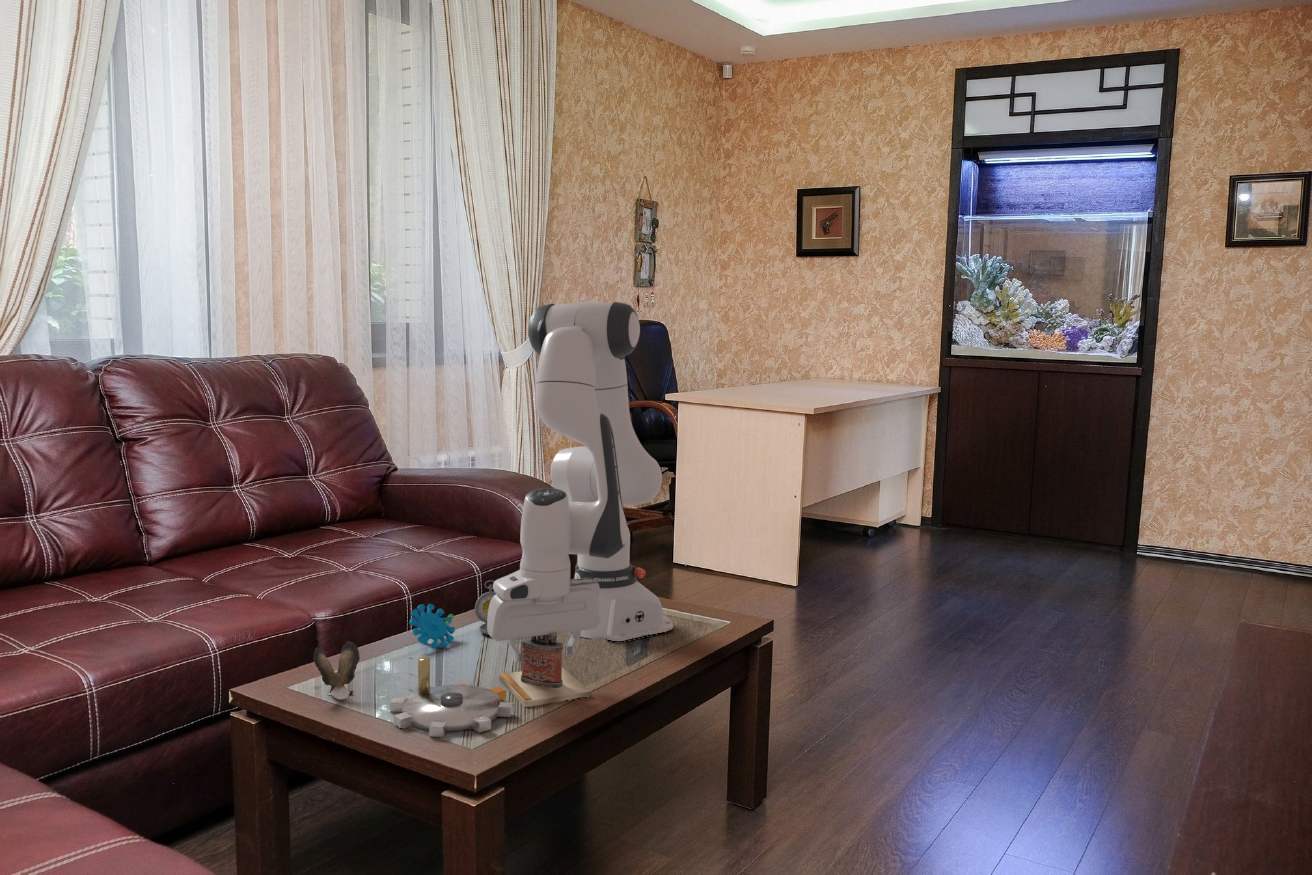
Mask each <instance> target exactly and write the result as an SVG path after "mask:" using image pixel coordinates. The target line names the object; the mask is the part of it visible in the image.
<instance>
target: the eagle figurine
mask: <svg viewBox="0 0 1312 875" xmlns="http://www.w3.org/2000/svg"><path fill="white" fill-rule="evenodd" d="M313 653H314V654H313V661H314V665H315V667H316V668H317V670H318V671H319V673H320V675H321V680H322V682H323V683H324V685H326V686H330V690H329V692H328V694H329V693H331V695H332V696H331V697H333V698H335V699H336V700H340V701H342V700H346V699H347V698H348V697H349V696H350V695H349V694H352V695H353V694H354V691H353V690H354V689H352V690H349V689H348V688H347V687H345V685H349V684H350V683H351V682H352V681H353V680H354V678H355V677H356V676H355V671H356V669H357V665H358V663H359V662H360V657H361V656H360V651H359V648H358V646H357V645H356V644H355V643H354V642H351V641H347V642H345V643H344V645H342V648H341V652H340V656H339V659H338V668H337V671H336V672H335V670H334V669H333V666H332V664H331V662H330V660H329V659H328V658H327V657H326V655H325V653H324V650H323V649H321V648H319V647H315V650H314V652H313Z"/></svg>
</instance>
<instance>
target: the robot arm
mask: <svg viewBox="0 0 1312 875" xmlns="http://www.w3.org/2000/svg"><path fill="white" fill-rule="evenodd" d="M640 326H641V325H640V319H639V316H638V313H637V311H636V310H635V309H634V307H632V305H630V304H627V303H625V302H619V301H614V302H605V301H604V302H603V301H590V300H589V301H587V300H585V301H581V302H569V303H560V304H555V303H549V304H544V305H541V306H539V307H537V308H536V309H535V310H534V311H533V312H532V313H531V315H530V317H529V323H528V339H529V343H530V346H531V347H532V349H533V350H534V352H535V353H536V354H537V355H538V356H539V358H538V364H537V372H536V381H535V394H534V396H535V397H534V398H535V401H534V402H535V411H536V413H537V416H538V418H539V419H540V421H541V422H542V423H543V424H544V425H545V426H546V427H548V428H549V429H550V430H551V431H554V432H556V433H557V434H559V435H561V436H563V437H565V438H568V439H570V440H573V441H575V442H577V443H579V444H581V445H583V446H581V445H580V446H574V447H566V448H562V449H561V450H559V451H557V453H556V455H554V457H553V460H552V462H551V464H550V479H551V482H552V485H553V486H554V488H553V487H540V488H537V489H534V490H532V491H529V492H528V493H526V494H525V497H524V501H523V504H522V505H523V506H522V512H521V519H520V533H519V534H520V540H519V542H520V545H521V549H522V553H521V554H522V556H521V560H520V563H519V569H518V570H516V571H514V572H512V573H509V574H508V575H505V576H502V577H500V578H497V579H496V580H493V581H494V582H493V584H492V586H493V589H492V590H493V592H495V593H496V595H494V596H493V597H492V599H491V601H490V604H489V609H488V610H487V615H488V618H487V632H488V634H487V635H489V637H490V638H491V639H493V640H494V641H496V642H500V641H501V642H502V641H506V643H507V644H508V645H509V647H510V648H511V650H512V651H513V652H512V653H513V656H512V659H513V661H514V662H515V663H522V662H524V652H523V651H522V649H519V648H518V647H517V646H516V645H519V642H520V641H519V639H523V638H531V637H534V636H536V637H537V636H542V635H548V634H549V633H555V632H557V635H558V634H564V633H569V634H570V637H569V640H568V642H566V643H563V650H562V653H563V655H565V656H566V657H567V656H574V655H575V651H576V650H575V648H576V645H577V643H578V642H579V640H580V638H585V639H591V640H594V639H601V638H603V639H604V640H605V639H607V640H606V641H608V640H612V641H623V640H627V639H632V638H634V637H640V636H642V635H648V634H650V633H656V632H659V631H664V630H667V629H670V628H673V629H674V624H673V622H672V621H671V619H669V618H668V617H667V616H665V615H664V614H663V613H664V611H663V607H662V603H661V600H660V598H659V597H657V595H656V594H655V593H653V592H651V591H650V590H649V589H648V588H646V586H644V585H643V584H641V583H640V582H639V581H638V580H637V578H639V579H644V578H645V576H646V573H647V572H646V570H645V568H641V567H640V566H639V567H638V566H635V565H633V564H631V563H630V551H631V548H630V547H631V533H630V529H629V527H628V525H627V519H626V516H625V513H624V507H623V505H627V506H628V505H642V504H649V503H651V502H652V501H654V499H656V497H657V495H658V494H659V493H660V491H661V488H662V484H663V475H662V474H663V473H662V469H661V467H660V465H659V463H658V461H657V460H656V459H655V458H654V457H652V456H651V455H650V454H649V452H648V451H646V449H645V448H644V447H643V445H642V444H641V442H640V440H639V438H638V436H637V434H636V431H635V430H634V427H633V424H632V420H631V413H630V403H629V391H628V390H629V389H628V388H629V386H628V372H627V366H626V360H625V358H626V357H627V356H629V355H631V354H632V352H633V351H635V349H636V348H637V346H638V343H639V338H640V335H641V334H640V333H641V327H640ZM569 555H577V563H576V564H575V570H574V571H575V573H574V578H571V560H570V556H569ZM612 641H611V642H612Z"/></svg>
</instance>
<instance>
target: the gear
mask: <svg viewBox="0 0 1312 875" xmlns="http://www.w3.org/2000/svg"><path fill="white" fill-rule="evenodd" d="M425 609H426V610H427V611H426V612H425ZM434 609H435V605H434V604H432V603H428V605H427V606H425V604H419V605H418V606H417V608H415V609H413V610H412V611H411V612H410V615H411V616H412V617H411V618H410V620H409V623H408V624H409V625H410V626H414V627H415V628H413V629H412V634H413V635H414V636H415V637H416V636H417V638H416V639H417V641H418V642H421V643H422V644H423V645H426V644H427V643H428V642H429V640H430V639H431V640H433V641H432V642H431V643H430V648H432V649H434V650H436V649H437V648H438V647H440V648H441V649H445V648H447V647H448V645H449V644H450V643H451V642H453V641H454V640H455V637H454V636H453V634H454V633H455V631H456V628H455V627H454V626H452V625H451V626H450V624H451V623H452V621H453V619H454V617H455V616H454V614H452V613H450V614H448V616H447V617H441V616H443V615H444V614H445V610H443V608H438V609H437V611H436V612H435V613H433V612H432V611H434ZM439 640H440V644H439V642H438V641H439Z"/></svg>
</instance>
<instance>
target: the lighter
mask: <svg viewBox="0 0 1312 875" xmlns="http://www.w3.org/2000/svg"><path fill="white" fill-rule="evenodd" d="M557 637H558V634H557V632H555V633H549V634H548V635H542V636H534V637H526V638H521V642H520V644H521V648H522V649H521V650H522V651H523V652H524V662H521V671H522V675H521V682H523V683H527V684H530V685H534V686H540V687H546V688H560V687H562V686H563V680H562V667H563V650H564V647H563V645H564V643H561V642H559V641H557Z"/></svg>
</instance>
